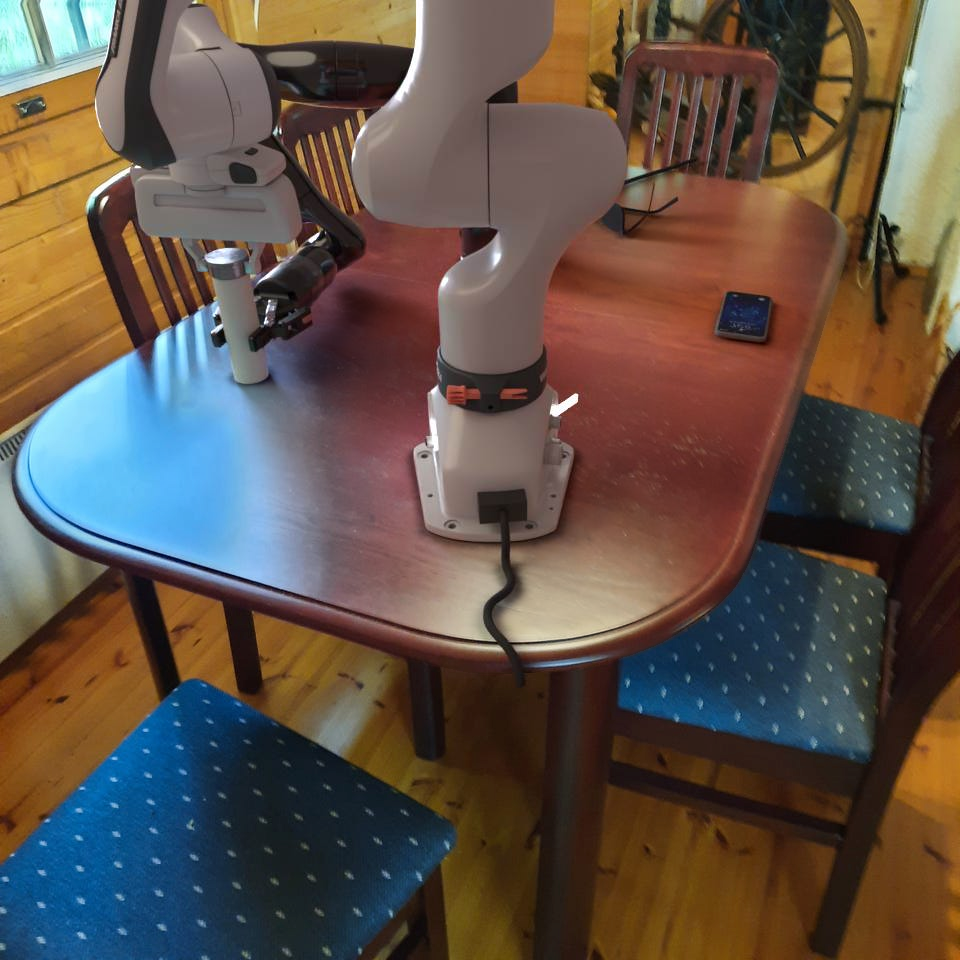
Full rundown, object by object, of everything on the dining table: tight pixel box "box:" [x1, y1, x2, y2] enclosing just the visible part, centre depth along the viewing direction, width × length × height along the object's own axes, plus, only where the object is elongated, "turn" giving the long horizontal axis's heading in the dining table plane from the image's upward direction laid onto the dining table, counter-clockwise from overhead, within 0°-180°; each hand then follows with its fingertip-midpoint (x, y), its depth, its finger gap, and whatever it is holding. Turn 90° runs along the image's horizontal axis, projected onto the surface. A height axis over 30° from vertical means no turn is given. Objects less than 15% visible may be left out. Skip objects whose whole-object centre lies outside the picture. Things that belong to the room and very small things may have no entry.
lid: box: [205, 247, 250, 279], centre depth 108 cm, size 5×5×2 cm
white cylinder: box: [211, 274, 270, 385], centre depth 113 cm, size 5×5×17 cm
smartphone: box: [714, 290, 774, 343], centre depth 128 cm, size 7×1×15 cm
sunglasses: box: [597, 181, 679, 236], centre depth 161 cm, size 17×14×5 cm
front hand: (230, 271), depth 109 cm, fingers closed on lid, 5 cm apart
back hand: (233, 343), depth 112 cm, fingers closed on white cylinder, 4 cm apart
